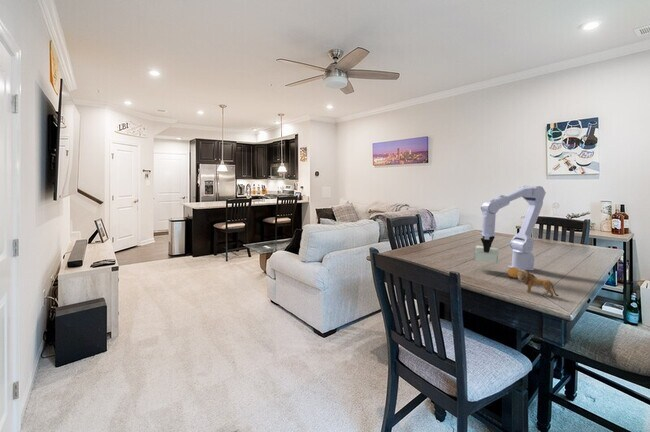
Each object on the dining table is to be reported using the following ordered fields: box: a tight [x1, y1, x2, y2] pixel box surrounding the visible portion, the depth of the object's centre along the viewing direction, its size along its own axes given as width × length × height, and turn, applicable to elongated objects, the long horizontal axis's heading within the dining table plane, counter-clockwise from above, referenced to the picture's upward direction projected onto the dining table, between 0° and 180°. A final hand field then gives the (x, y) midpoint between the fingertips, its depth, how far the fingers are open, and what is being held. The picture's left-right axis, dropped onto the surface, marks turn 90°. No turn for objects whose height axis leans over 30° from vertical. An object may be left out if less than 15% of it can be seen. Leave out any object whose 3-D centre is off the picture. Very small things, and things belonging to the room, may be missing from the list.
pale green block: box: [473, 245, 500, 264], centre depth 161 cm, size 10×8×7 cm
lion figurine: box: [517, 270, 560, 299], centre depth 130 cm, size 15×5×9 cm, turn 51°
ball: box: [507, 267, 519, 279], centre depth 151 cm, size 5×5×5 cm
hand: (487, 251), depth 161 cm, fingers closed on pale green block, 6 cm apart
